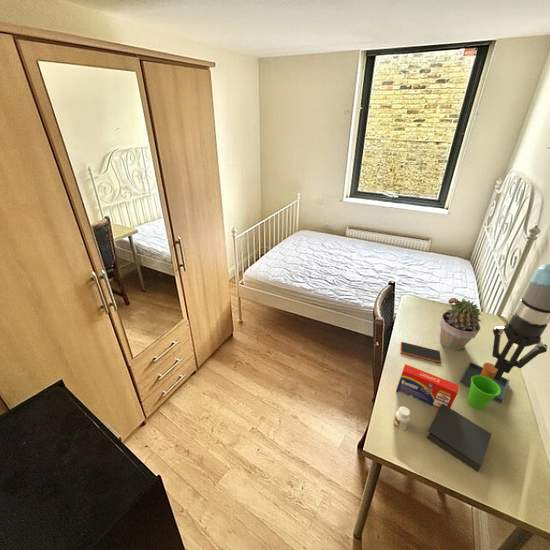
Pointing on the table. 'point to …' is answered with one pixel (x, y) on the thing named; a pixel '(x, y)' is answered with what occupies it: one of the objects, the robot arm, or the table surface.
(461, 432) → the lid
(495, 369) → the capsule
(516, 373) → the table surface
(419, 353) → the smartphone
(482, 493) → the table surface
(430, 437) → the dark grey box base
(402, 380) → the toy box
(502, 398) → the tray
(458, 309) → the potted plant
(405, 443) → the table surface
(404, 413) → the pill bottle
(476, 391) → the cup
